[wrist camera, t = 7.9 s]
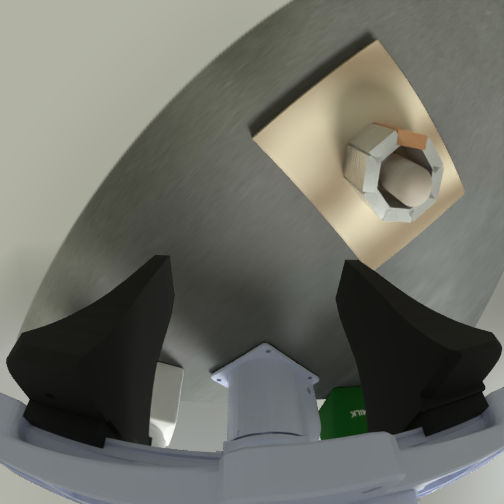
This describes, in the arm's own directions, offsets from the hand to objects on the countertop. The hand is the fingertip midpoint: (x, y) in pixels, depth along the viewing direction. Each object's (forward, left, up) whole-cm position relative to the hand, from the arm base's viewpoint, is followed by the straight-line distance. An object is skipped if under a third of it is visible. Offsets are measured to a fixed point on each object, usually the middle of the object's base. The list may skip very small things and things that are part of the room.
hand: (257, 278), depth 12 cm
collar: (-4, -9, -8) cm, 13 cm away
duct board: (-4, -9, -9) cm, 13 cm away
